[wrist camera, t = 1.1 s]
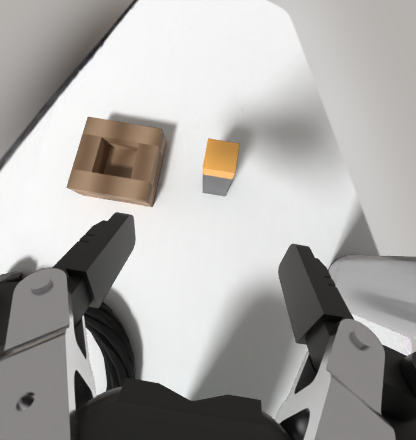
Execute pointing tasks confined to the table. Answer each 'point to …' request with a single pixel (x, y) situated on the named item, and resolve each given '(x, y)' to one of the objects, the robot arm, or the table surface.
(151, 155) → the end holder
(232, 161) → the connector plug
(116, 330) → the cable lock
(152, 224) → the table surface
